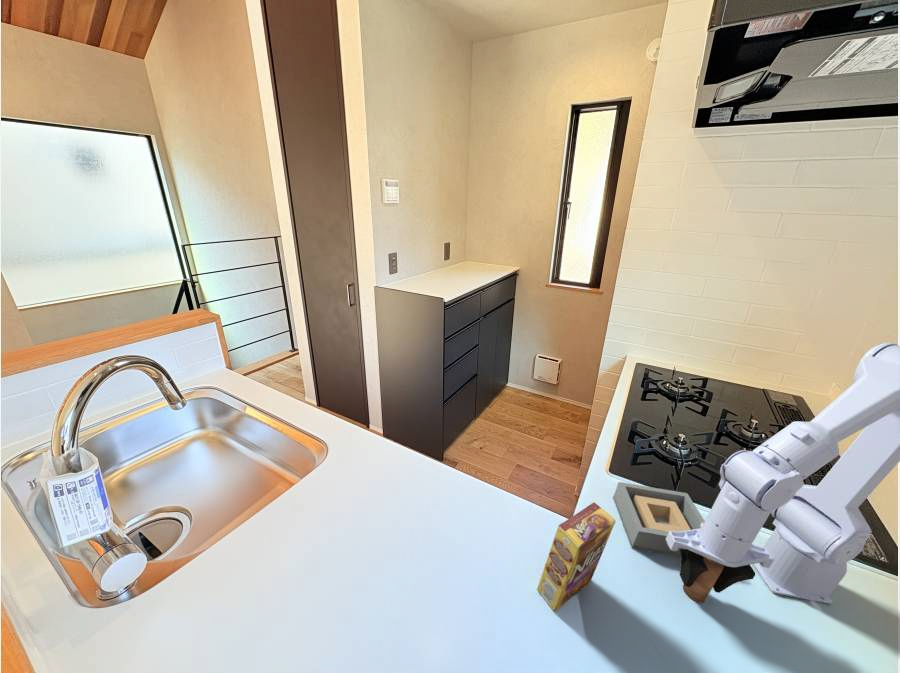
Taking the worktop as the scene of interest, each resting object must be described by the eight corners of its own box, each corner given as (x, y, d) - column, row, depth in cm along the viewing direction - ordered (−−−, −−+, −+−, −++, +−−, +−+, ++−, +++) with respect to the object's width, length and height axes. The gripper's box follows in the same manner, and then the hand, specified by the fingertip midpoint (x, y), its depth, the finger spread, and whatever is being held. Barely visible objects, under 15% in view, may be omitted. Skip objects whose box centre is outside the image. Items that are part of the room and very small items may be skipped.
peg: (698, 584, 61) (716, 553, 58) (708, 604, 58) (728, 572, 55) (679, 581, 61) (696, 549, 58) (688, 600, 58) (706, 568, 55)
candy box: (556, 616, 54) (579, 547, 48) (535, 590, 57) (555, 523, 52) (592, 585, 59) (617, 519, 53) (571, 563, 62) (592, 499, 56)
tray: (680, 508, 76) (687, 493, 74) (710, 562, 65) (719, 545, 63) (613, 497, 77) (618, 481, 75) (631, 548, 66) (638, 531, 64)
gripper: (764, 511, 56) (731, 568, 62) (669, 495, 58) (644, 552, 63) (799, 552, 50) (758, 612, 55) (691, 533, 51) (661, 593, 56)
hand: (699, 583), depth 58 cm, fingers open, 4 cm apart
